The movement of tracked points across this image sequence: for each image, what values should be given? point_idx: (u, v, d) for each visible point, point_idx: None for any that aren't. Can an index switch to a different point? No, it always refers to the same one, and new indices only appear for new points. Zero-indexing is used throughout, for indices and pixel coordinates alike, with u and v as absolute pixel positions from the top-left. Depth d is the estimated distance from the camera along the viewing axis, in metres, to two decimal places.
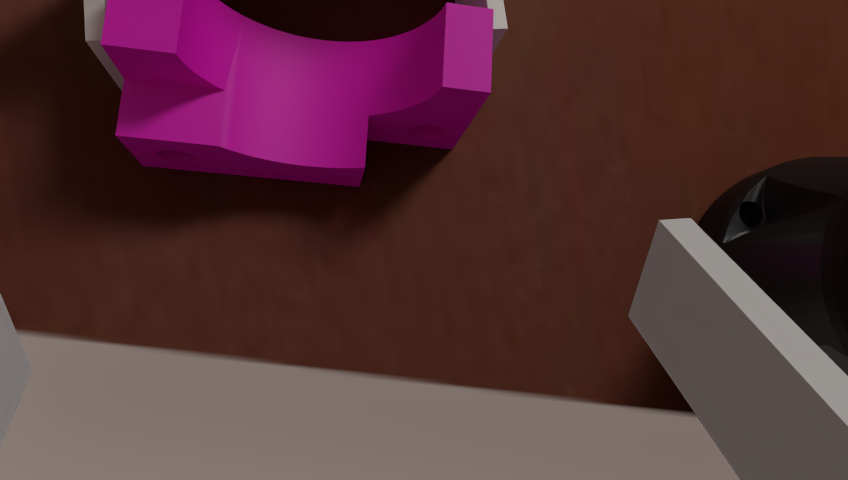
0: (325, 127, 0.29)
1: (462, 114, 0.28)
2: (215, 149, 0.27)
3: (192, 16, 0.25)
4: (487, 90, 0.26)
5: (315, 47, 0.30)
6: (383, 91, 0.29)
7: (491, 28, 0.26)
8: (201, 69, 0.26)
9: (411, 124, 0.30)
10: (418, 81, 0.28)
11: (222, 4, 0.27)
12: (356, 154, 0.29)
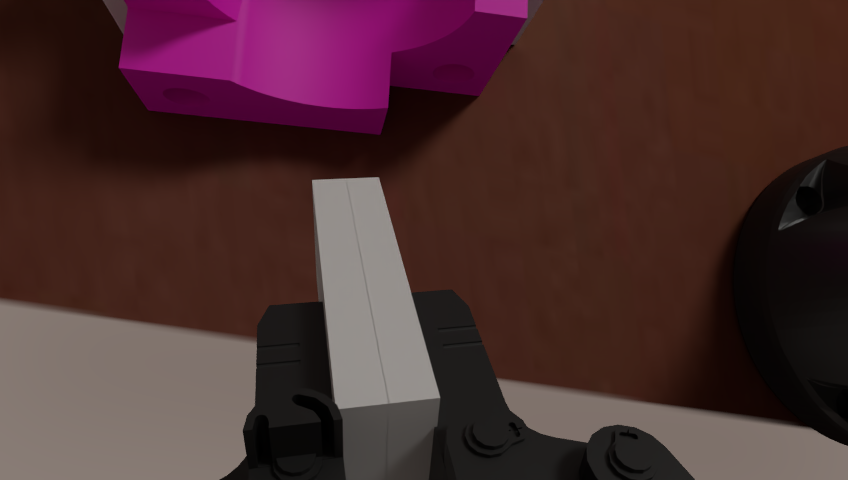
0: (345, 66, 0.27)
1: (493, 49, 0.26)
2: (226, 85, 0.25)
3: None
4: (523, 15, 0.24)
5: None
6: (406, 26, 0.27)
7: None
8: None
9: (437, 63, 0.27)
10: (446, 11, 0.25)
11: None
12: (378, 93, 0.26)
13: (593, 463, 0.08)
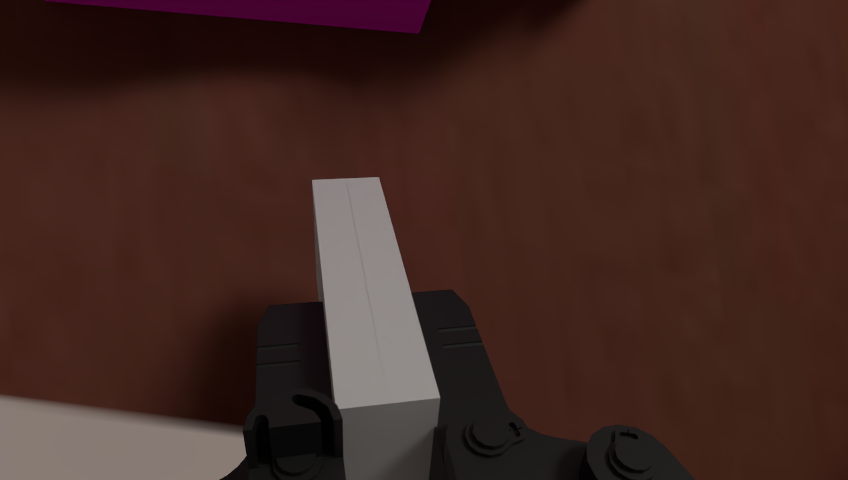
0: None
1: None
2: None
3: None
4: None
5: None
6: None
7: None
8: None
9: None
10: None
11: None
12: None
13: (593, 463, 0.08)
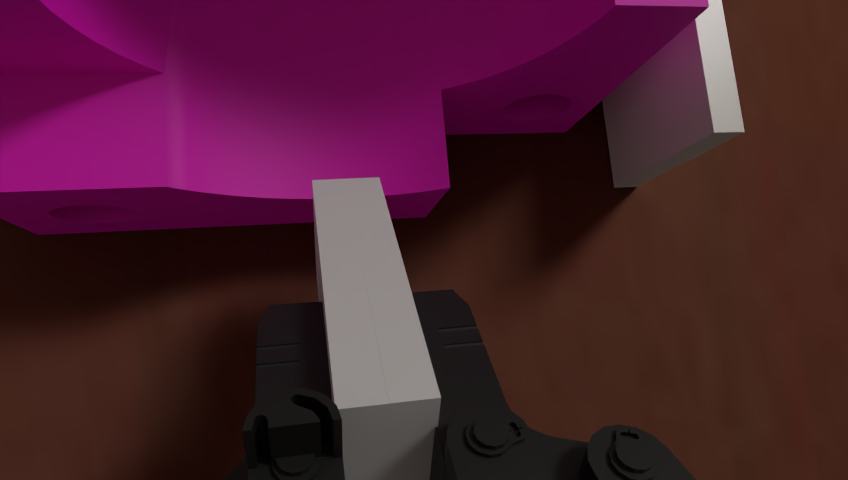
0: (364, 122, 0.16)
1: (620, 64, 0.15)
2: (161, 193, 0.14)
3: None
4: (702, 3, 0.13)
5: None
6: (461, 42, 0.15)
7: None
8: (107, 31, 0.12)
9: (514, 96, 0.16)
10: (537, 10, 0.14)
11: None
12: (429, 164, 0.15)
13: (594, 463, 0.08)
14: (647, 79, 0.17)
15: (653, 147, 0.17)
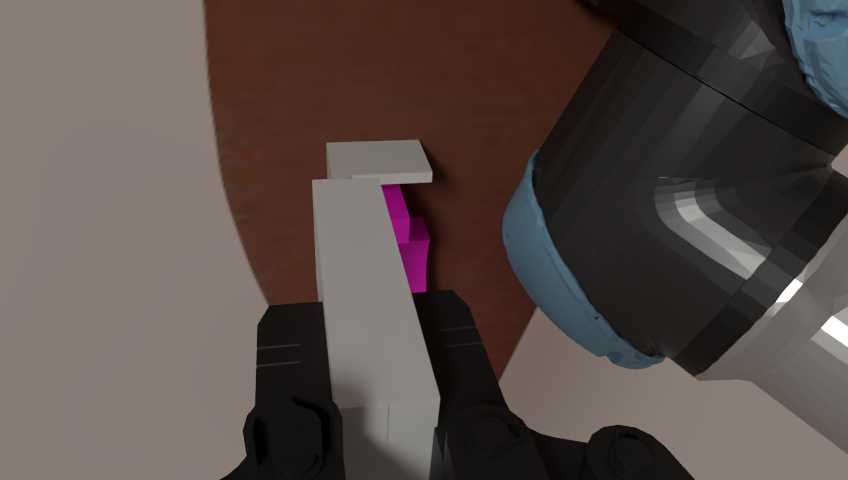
0: (403, 257, 0.49)
1: None
2: None
3: None
4: (409, 220, 0.42)
5: None
6: None
7: None
8: None
9: None
10: None
11: None
12: (421, 243, 0.48)
13: (593, 463, 0.08)
14: None
15: None
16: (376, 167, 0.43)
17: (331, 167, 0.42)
